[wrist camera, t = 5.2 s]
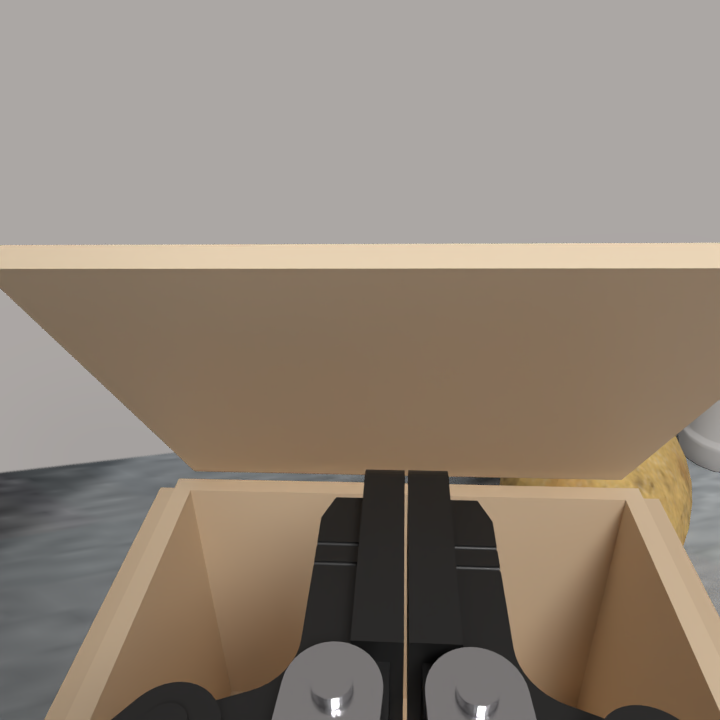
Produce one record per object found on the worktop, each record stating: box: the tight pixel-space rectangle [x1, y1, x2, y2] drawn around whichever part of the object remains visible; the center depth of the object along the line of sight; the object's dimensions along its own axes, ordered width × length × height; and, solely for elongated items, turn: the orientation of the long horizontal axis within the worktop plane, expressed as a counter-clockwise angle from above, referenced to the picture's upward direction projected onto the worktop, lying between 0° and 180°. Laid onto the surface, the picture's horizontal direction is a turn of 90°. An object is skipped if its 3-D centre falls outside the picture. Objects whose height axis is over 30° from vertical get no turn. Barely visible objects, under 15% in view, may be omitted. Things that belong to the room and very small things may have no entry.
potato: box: [500, 436, 692, 545], centre depth 33 cm, size 10×14×10 cm
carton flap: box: [0, 243, 720, 480], centre depth 17 cm, size 15×13×1 cm
